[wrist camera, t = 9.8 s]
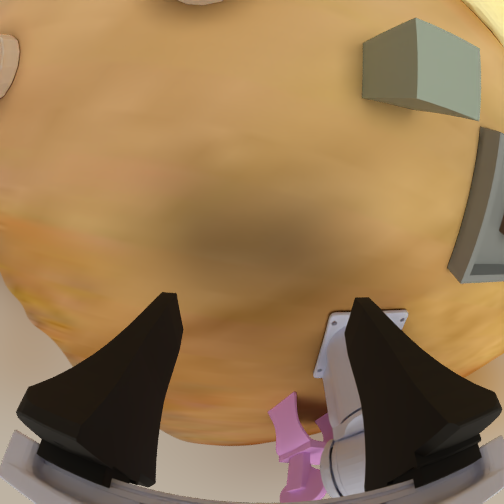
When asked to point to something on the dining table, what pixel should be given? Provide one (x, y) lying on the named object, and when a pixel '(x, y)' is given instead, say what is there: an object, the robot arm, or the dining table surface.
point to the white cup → (8, 61)
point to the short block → (502, 226)
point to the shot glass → (200, 2)
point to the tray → (483, 217)
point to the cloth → (490, 15)
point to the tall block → (423, 70)
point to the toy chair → (299, 451)
